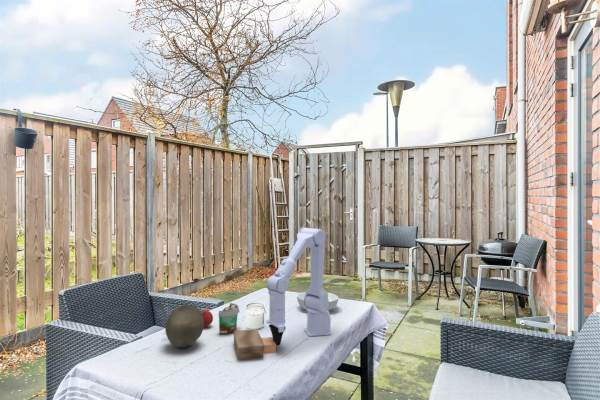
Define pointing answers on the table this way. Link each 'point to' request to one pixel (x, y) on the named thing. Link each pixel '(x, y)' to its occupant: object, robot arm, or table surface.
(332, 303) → the serving bowl
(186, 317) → the cantaloupe
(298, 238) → the robot arm
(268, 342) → the peach block
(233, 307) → the food container
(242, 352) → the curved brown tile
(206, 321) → the onion
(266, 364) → the table surface
